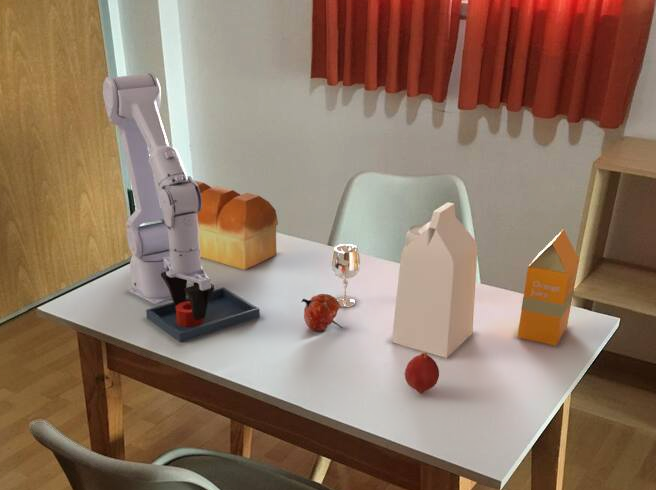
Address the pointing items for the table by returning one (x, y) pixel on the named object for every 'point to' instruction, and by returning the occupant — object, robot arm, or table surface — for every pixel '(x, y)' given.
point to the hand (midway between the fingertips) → (189, 311)
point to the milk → (436, 286)
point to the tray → (219, 315)
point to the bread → (235, 227)
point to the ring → (186, 315)
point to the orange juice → (549, 292)
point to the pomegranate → (320, 311)
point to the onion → (422, 373)
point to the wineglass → (345, 268)
